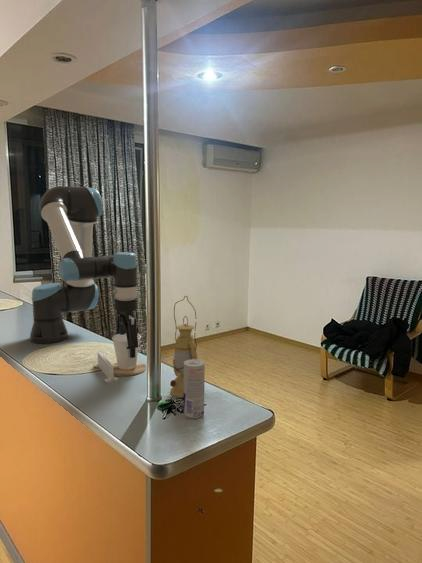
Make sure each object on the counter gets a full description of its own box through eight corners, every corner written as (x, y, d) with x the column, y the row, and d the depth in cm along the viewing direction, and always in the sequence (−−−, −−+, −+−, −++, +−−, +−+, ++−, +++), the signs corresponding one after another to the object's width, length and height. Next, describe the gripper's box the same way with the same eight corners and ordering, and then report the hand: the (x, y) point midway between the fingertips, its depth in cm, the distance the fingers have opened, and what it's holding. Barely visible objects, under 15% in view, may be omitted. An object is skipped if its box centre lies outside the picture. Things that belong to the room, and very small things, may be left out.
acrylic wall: (93, 366, 145) (93, 352, 144) (104, 364, 147) (104, 350, 146) (106, 382, 131) (105, 367, 130) (118, 380, 133) (117, 365, 132)
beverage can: (208, 414, 111) (209, 362, 109) (194, 422, 107) (194, 367, 105) (193, 407, 115) (194, 356, 112) (179, 414, 111) (179, 362, 108)
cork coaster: (103, 366, 145) (103, 364, 145) (138, 360, 151) (138, 358, 151) (114, 379, 134) (114, 377, 134) (151, 371, 140) (151, 370, 140)
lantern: (160, 389, 126) (159, 294, 121) (185, 381, 133) (186, 290, 128) (182, 403, 117) (183, 301, 112) (209, 394, 123) (210, 297, 118)
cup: (135, 373, 137) (134, 342, 135) (107, 371, 139) (106, 339, 137) (145, 363, 146) (145, 333, 144) (119, 360, 148) (119, 331, 146)
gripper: (105, 293, 146) (107, 353, 150) (125, 306, 127) (126, 374, 131) (126, 291, 150) (127, 350, 153) (148, 303, 131) (148, 370, 135)
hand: (127, 361), depth 142 cm, fingers closed on cup, 9 cm apart
